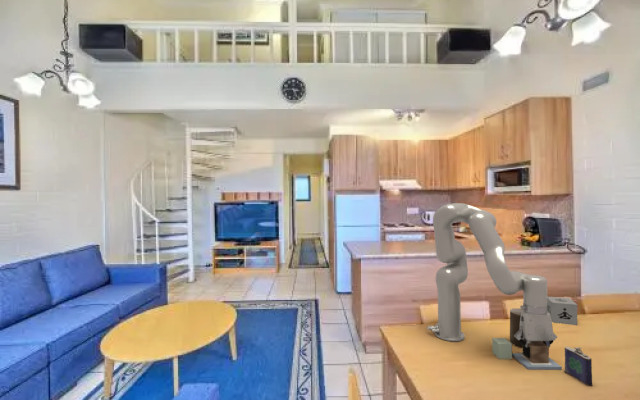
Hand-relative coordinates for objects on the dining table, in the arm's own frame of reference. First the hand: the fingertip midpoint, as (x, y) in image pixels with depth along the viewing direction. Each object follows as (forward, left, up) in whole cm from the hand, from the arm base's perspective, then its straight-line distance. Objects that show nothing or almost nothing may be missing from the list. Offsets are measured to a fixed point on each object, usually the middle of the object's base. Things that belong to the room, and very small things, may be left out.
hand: (535, 355), depth 121 cm
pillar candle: (+4, +15, -3) cm, 16 cm away
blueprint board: (0, 0, -3) cm, 3 cm away
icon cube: (+37, +41, -3) cm, 55 cm away
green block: (-10, +5, -3) cm, 11 cm away
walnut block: (0, 0, -1) cm, 1 cm away
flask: (+8, -10, -3) cm, 13 cm away
